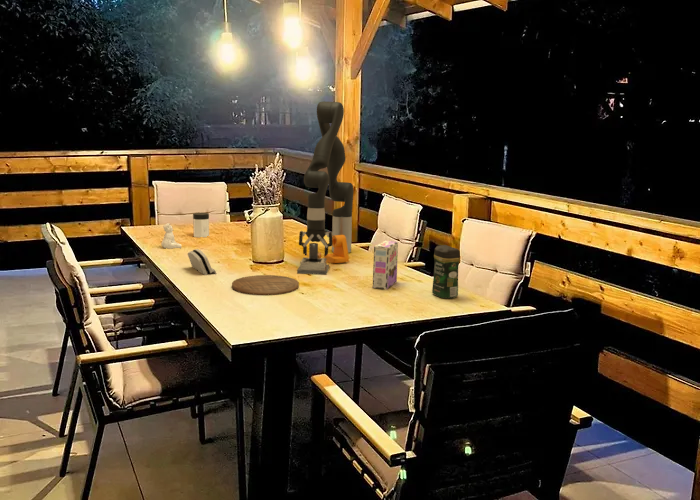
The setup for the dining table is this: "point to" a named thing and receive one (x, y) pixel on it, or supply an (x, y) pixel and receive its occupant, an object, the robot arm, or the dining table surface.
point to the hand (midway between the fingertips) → (315, 255)
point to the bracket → (338, 250)
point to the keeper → (313, 258)
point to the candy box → (385, 264)
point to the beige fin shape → (200, 262)
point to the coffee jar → (446, 271)
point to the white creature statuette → (169, 238)
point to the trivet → (265, 285)
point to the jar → (201, 224)
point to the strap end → (313, 263)
